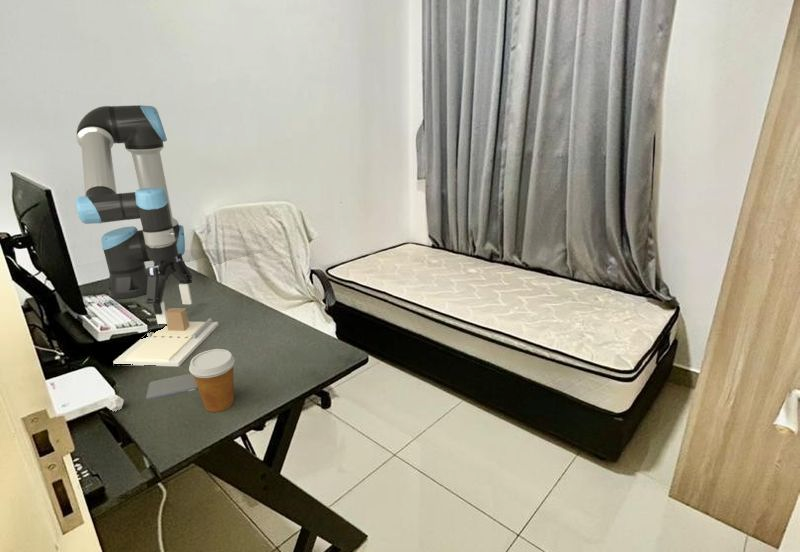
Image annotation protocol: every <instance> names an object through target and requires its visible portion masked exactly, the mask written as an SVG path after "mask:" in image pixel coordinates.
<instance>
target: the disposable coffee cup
mask: <svg viewBox="0 0 800 552" xmlns="http://www.w3.org/2000/svg"><path fill="white" fill-rule="evenodd" d="M189 362H190V363H189V366H188V371H189V372H190V373H192V375H193V377H194V379H195V382H196V385H197V387H198V389H197V391H198V392H199V395H200V397H201V400H202V403H203V406H204V408H205V410H206V411H208V412H210V413H219V412H222V411H225V410H227V409H230V408H231V406H232V405H234V402H235V391H234V390H235V389H234V388H235V387H234V386H235V385H234V384H235V383H234V365H235V362H236V361H235V357H234V356H233V355H232V353H231V352H230V351H229V350H227V349H222V348H214V349H213V348H212V349H208V350H205V351H202V352H200V353H198V354H196V355H195V356H193V357H192V359H191V360H190V361H189Z"/></svg>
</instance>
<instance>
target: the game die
mask: <svg viewBox="0 0 800 552" xmlns="http://www.w3.org/2000/svg"><path fill="white" fill-rule="evenodd" d="M124 401H125V400H124V399H123V398H122V397H120V396H119V395H118V394H115V395H111V396H109V397H108V400H107V402H106V406H105V408H107V409H109V410H110V411H111V410H112V412H114V411H115V412H118V411H119V410H120V409H121V410H122V408H123V405H124V403H125V402H124ZM117 410H118V411H117ZM115 412H114V413H115Z"/></svg>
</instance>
